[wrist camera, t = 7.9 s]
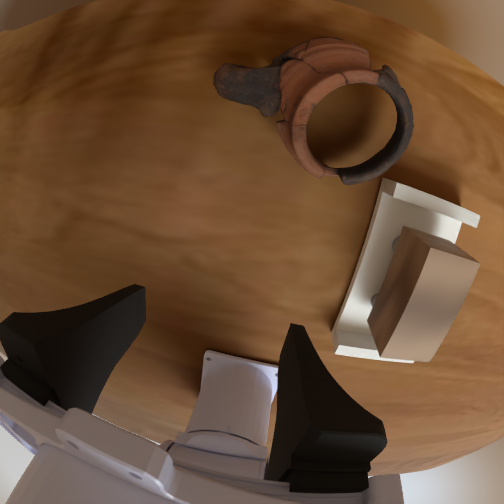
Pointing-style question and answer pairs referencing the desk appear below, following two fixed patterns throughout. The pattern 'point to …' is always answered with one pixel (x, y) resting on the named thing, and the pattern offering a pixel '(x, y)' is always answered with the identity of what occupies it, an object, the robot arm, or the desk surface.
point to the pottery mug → (317, 98)
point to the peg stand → (389, 257)
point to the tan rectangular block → (420, 296)
